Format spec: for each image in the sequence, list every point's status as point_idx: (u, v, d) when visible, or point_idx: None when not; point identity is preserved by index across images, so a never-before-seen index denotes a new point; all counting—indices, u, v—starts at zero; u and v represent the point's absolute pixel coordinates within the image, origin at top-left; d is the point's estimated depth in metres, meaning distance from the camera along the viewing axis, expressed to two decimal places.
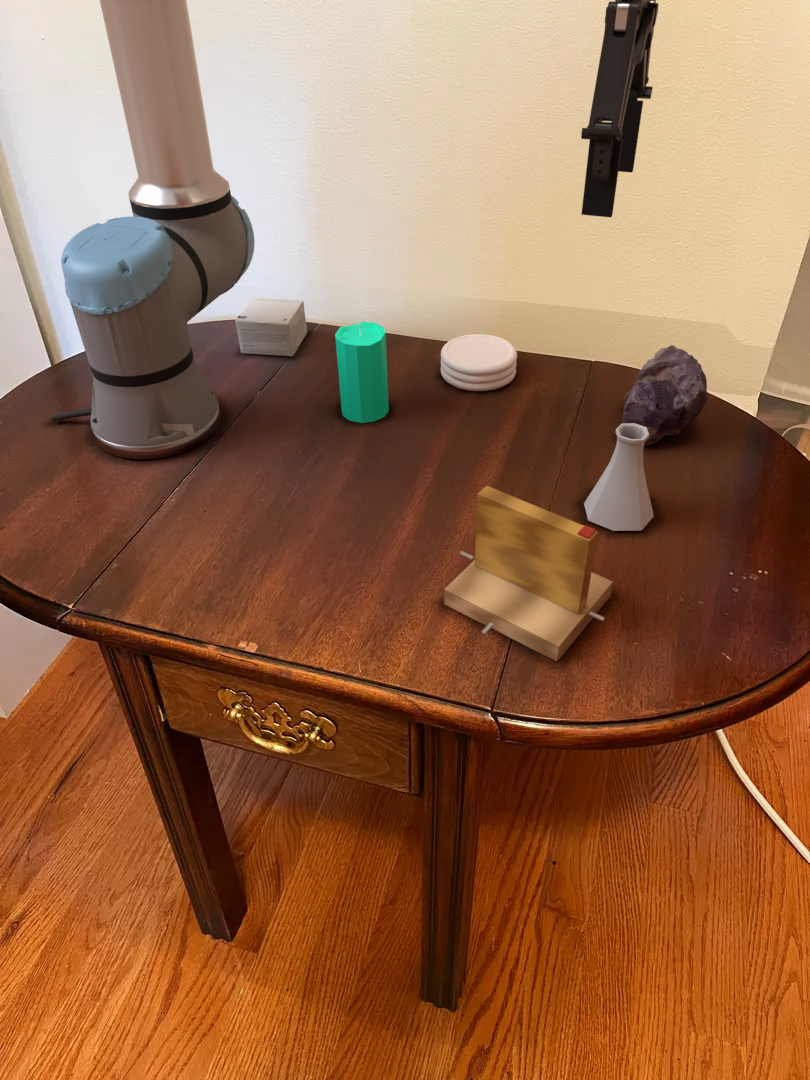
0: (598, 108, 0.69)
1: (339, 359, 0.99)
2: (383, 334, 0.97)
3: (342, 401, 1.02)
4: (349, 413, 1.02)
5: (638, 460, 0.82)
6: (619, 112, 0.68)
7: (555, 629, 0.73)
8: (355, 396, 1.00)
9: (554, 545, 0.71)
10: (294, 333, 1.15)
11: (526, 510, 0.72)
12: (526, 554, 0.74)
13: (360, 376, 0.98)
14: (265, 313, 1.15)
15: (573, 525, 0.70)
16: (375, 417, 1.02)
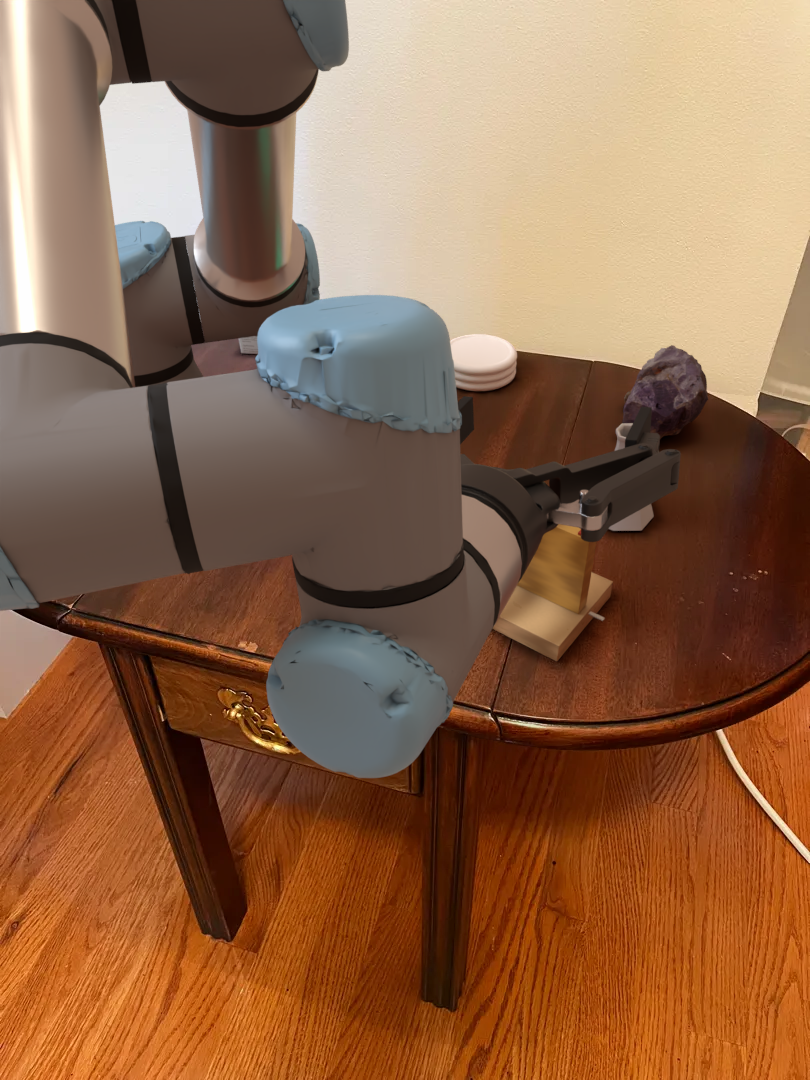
0: None
1: None
2: None
3: None
4: None
5: None
6: None
7: (555, 629, 0.73)
8: None
9: (554, 545, 0.71)
10: None
11: None
12: None
13: None
14: None
15: None
16: None
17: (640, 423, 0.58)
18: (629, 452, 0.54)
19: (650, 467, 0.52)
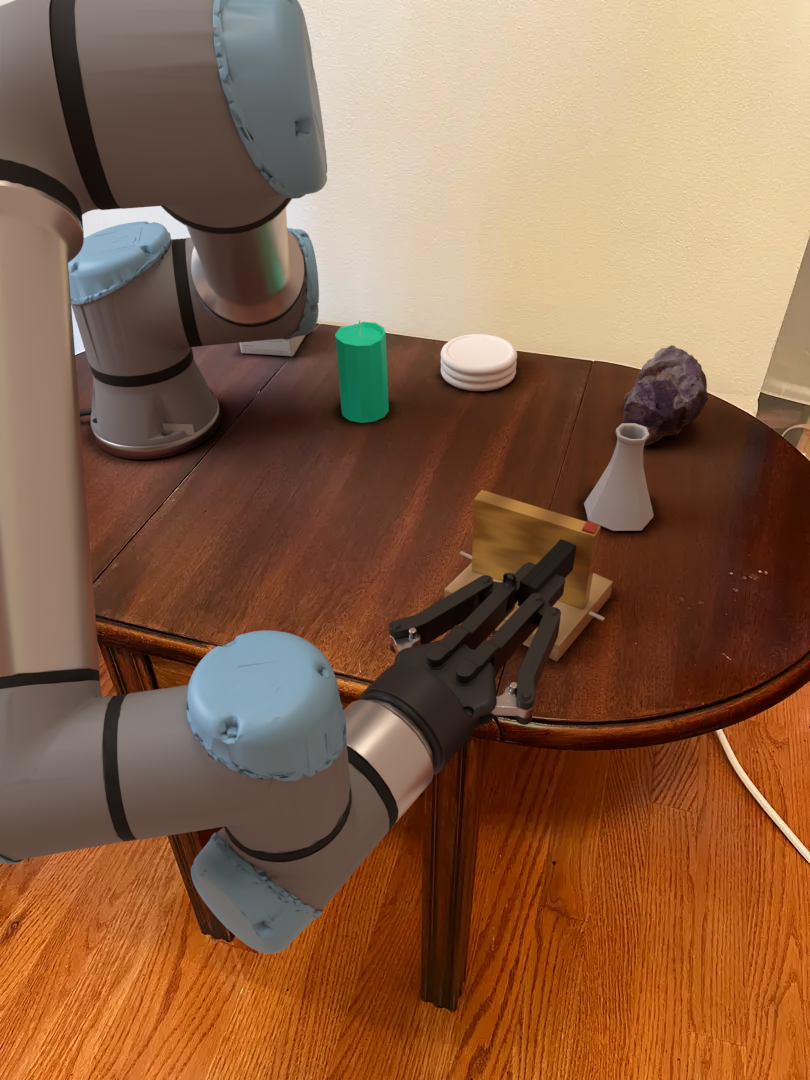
0: None
1: (339, 359, 0.99)
2: (383, 334, 0.97)
3: (342, 401, 1.02)
4: (349, 413, 1.02)
5: (638, 460, 0.82)
6: None
7: None
8: (355, 396, 1.00)
9: None
10: None
11: (526, 511, 0.72)
12: (527, 554, 0.74)
13: (360, 376, 0.98)
14: None
15: (575, 522, 0.70)
16: (375, 417, 1.02)
17: (553, 566, 0.68)
18: (530, 608, 0.64)
19: (547, 637, 0.62)
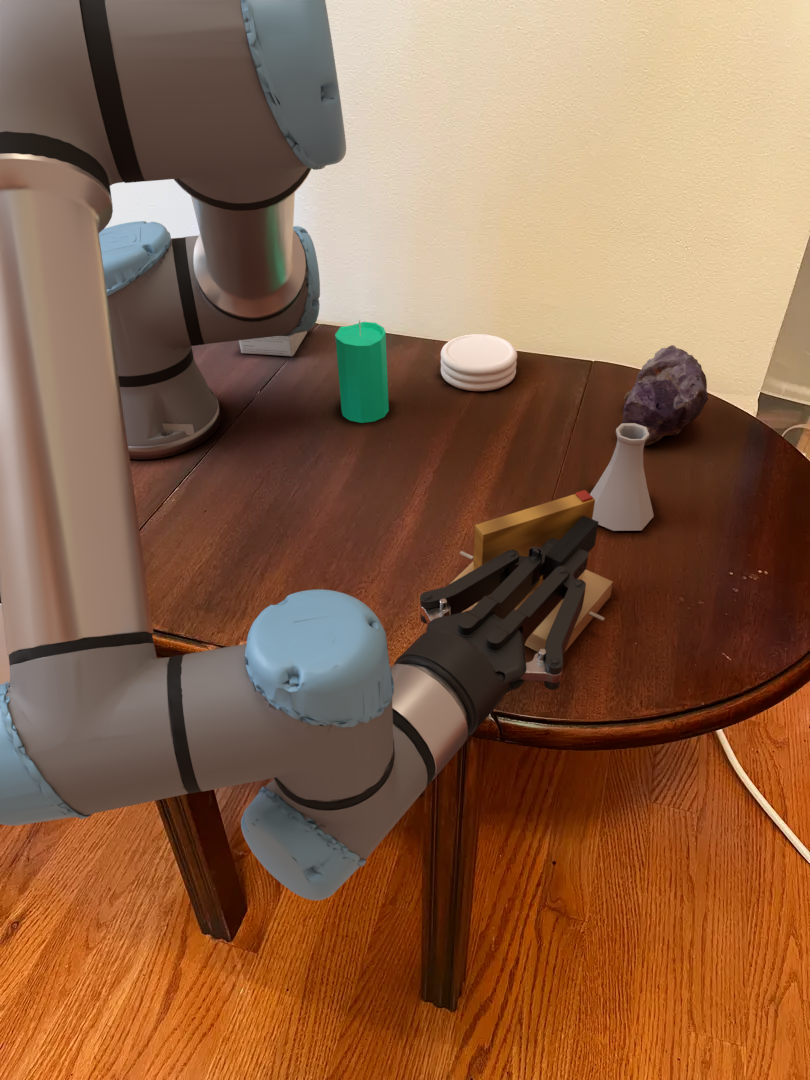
0: None
1: (339, 359, 0.99)
2: (383, 334, 0.97)
3: (342, 401, 1.02)
4: (349, 413, 1.02)
5: (638, 460, 0.82)
6: None
7: None
8: (355, 396, 1.00)
9: (562, 527, 0.73)
10: None
11: (529, 516, 0.71)
12: None
13: (360, 376, 0.98)
14: None
15: (568, 499, 0.73)
16: (375, 417, 1.02)
17: (576, 541, 0.70)
18: (556, 581, 0.67)
19: (573, 607, 0.65)
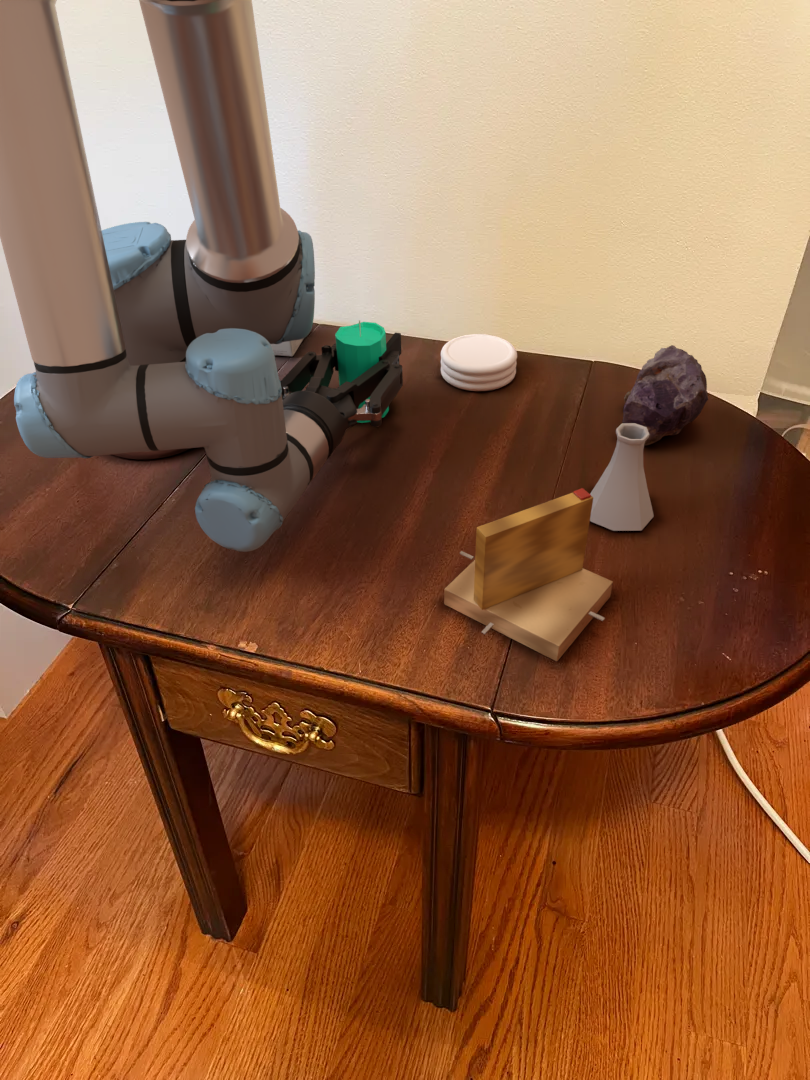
0: None
1: (339, 359, 0.99)
2: (383, 334, 0.97)
3: None
4: None
5: (638, 460, 0.82)
6: None
7: (555, 629, 0.73)
8: None
9: (562, 526, 0.73)
10: None
11: (530, 516, 0.71)
12: (536, 555, 0.74)
13: None
14: None
15: (567, 498, 0.73)
16: None
17: (389, 345, 1.00)
18: (379, 367, 0.96)
19: (392, 378, 0.94)
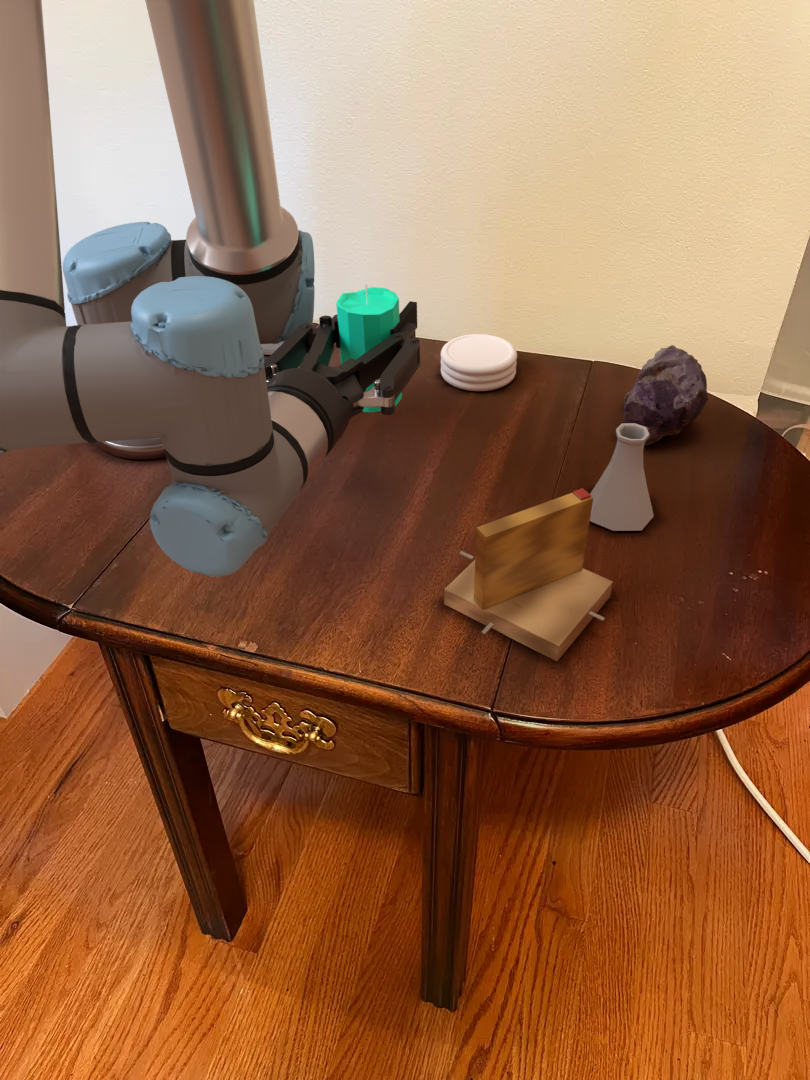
0: None
1: (341, 333, 0.80)
2: (396, 301, 0.78)
3: None
4: None
5: (638, 460, 0.82)
6: None
7: (555, 629, 0.73)
8: None
9: (562, 526, 0.73)
10: None
11: (530, 516, 0.71)
12: (536, 555, 0.74)
13: None
14: None
15: (567, 498, 0.73)
16: None
17: (403, 316, 0.81)
18: (391, 341, 0.77)
19: (407, 354, 0.75)
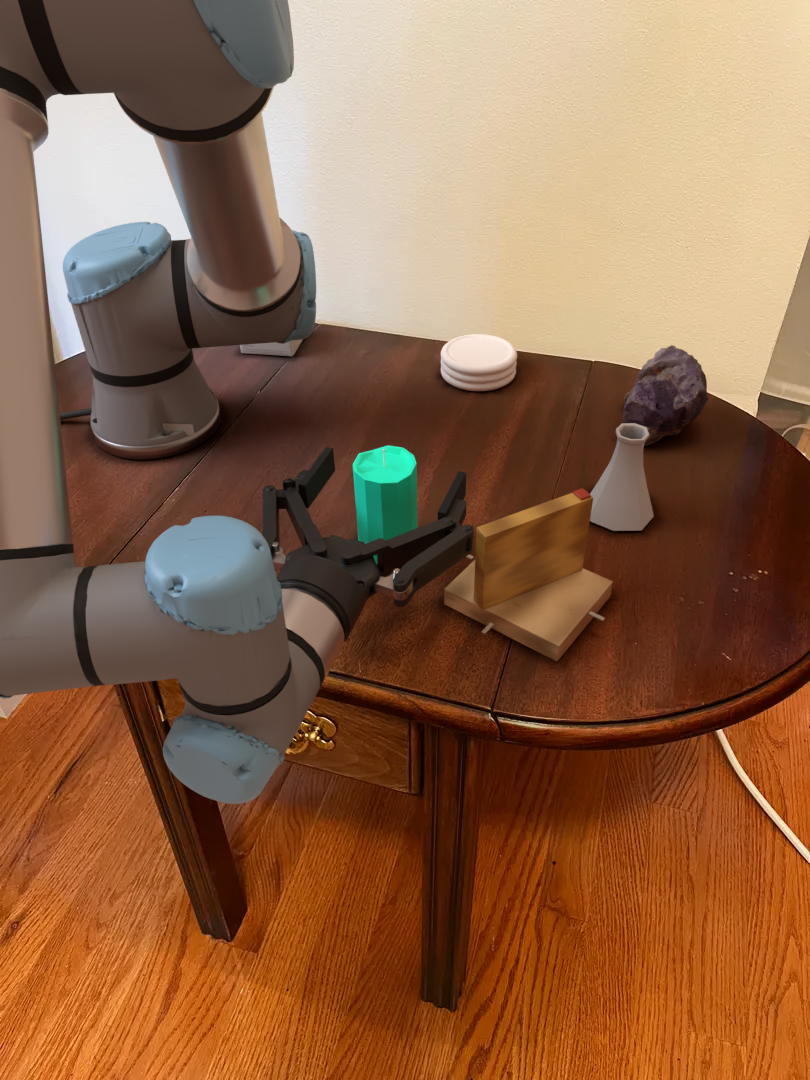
0: None
1: (357, 495, 0.78)
2: (413, 466, 0.77)
3: None
4: None
5: (638, 460, 0.82)
6: None
7: (555, 629, 0.73)
8: None
9: (562, 526, 0.73)
10: None
11: (530, 516, 0.71)
12: (536, 555, 0.74)
13: (383, 517, 0.78)
14: None
15: (567, 498, 0.73)
16: None
17: (453, 492, 0.76)
18: (437, 526, 0.73)
19: (448, 545, 0.71)
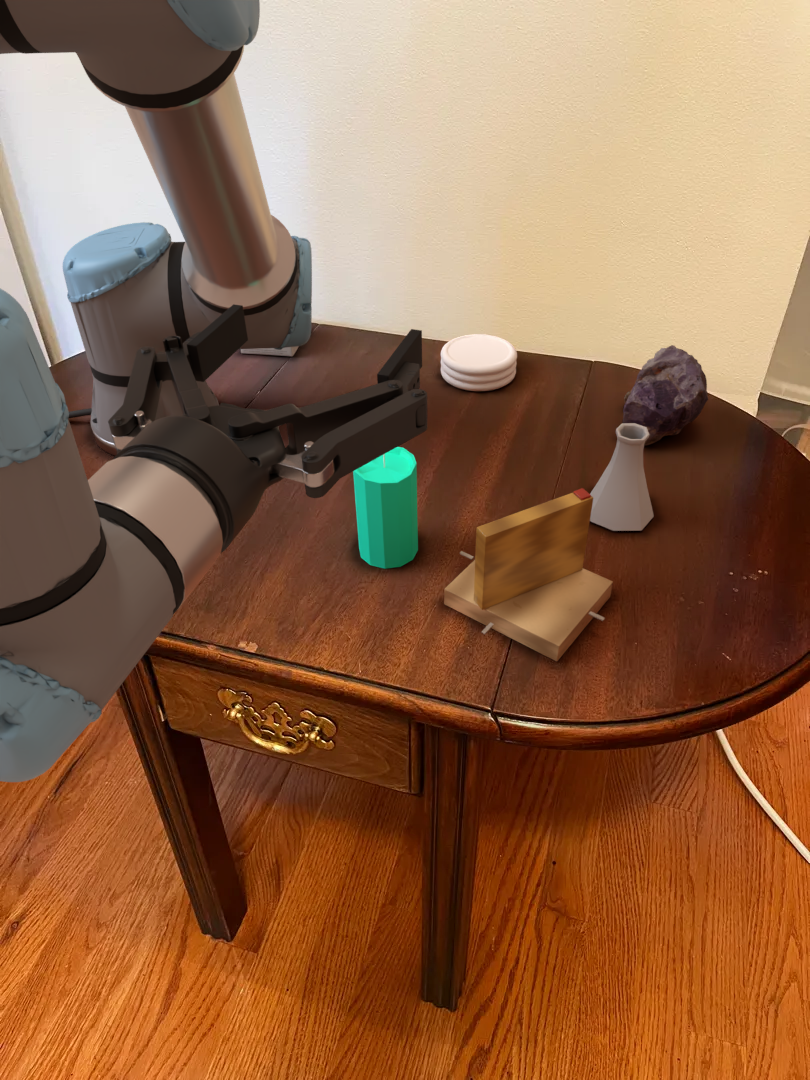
0: None
1: (357, 495, 0.78)
2: (413, 466, 0.77)
3: (360, 541, 0.82)
4: (369, 556, 0.82)
5: (638, 460, 0.82)
6: None
7: (555, 629, 0.73)
8: (377, 539, 0.80)
9: (562, 526, 0.73)
10: None
11: (530, 516, 0.71)
12: (536, 555, 0.74)
13: (383, 517, 0.78)
14: None
15: (567, 498, 0.73)
16: (402, 561, 0.82)
17: (401, 352, 0.54)
18: (375, 392, 0.51)
19: (388, 413, 0.49)
